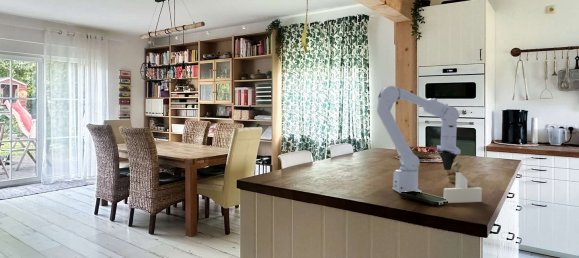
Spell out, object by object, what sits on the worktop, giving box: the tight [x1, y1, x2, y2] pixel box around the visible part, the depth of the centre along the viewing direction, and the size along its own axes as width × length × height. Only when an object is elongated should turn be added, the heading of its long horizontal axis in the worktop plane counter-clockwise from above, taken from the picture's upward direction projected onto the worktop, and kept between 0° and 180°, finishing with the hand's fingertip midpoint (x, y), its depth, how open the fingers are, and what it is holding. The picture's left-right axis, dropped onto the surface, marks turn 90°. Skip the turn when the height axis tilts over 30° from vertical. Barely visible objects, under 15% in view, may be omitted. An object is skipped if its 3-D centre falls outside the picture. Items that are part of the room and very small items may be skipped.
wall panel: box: [443, 186, 483, 204], centre depth 138 cm, size 14×2×5 cm, turn 97°
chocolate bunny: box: [446, 160, 465, 184], centre depth 173 cm, size 6×8×10 cm
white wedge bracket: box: [454, 171, 468, 188], centre depth 143 cm, size 4×10×9 cm, turn 129°
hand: (447, 169), depth 153 cm, fingers closed
